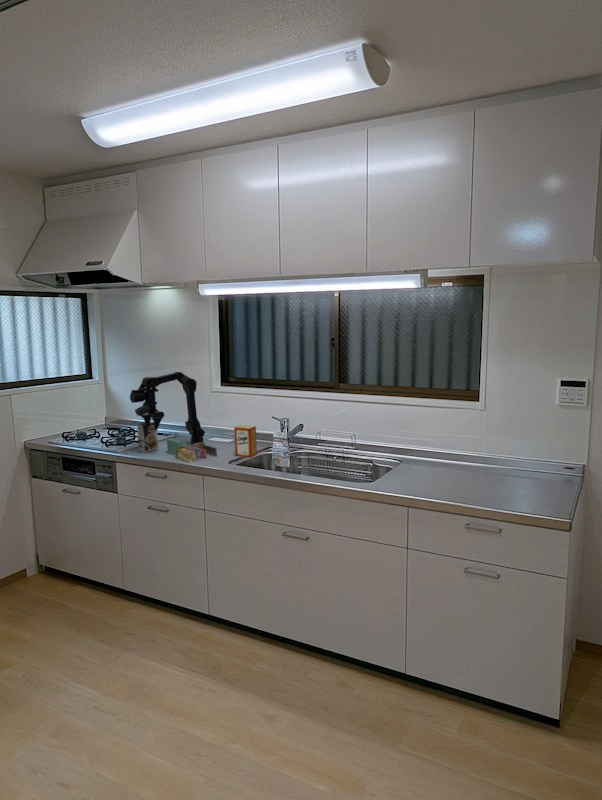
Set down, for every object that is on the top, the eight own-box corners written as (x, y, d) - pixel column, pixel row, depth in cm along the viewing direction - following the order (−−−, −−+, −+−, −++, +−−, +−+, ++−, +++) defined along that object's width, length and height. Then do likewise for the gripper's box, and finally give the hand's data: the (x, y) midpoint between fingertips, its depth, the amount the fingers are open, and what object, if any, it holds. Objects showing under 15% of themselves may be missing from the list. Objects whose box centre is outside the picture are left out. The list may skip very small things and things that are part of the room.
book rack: (203, 452, 310) (203, 441, 309) (216, 456, 301) (216, 445, 300) (176, 458, 299) (176, 447, 298) (189, 462, 290) (188, 451, 289)
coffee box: (145, 453, 311) (143, 425, 309) (138, 451, 315) (136, 423, 313) (159, 449, 318) (157, 422, 316) (151, 448, 322) (149, 421, 320)
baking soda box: (256, 454, 303) (255, 425, 300) (251, 457, 297) (249, 428, 294) (241, 453, 306) (240, 424, 304) (235, 456, 300) (234, 426, 298)
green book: (173, 452, 312) (172, 438, 311) (183, 455, 304) (182, 441, 303) (167, 453, 310) (166, 439, 309) (178, 457, 302) (177, 442, 301)
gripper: (128, 400, 304) (130, 428, 307) (144, 404, 291) (146, 433, 293) (147, 398, 312) (148, 425, 314) (163, 401, 298) (165, 430, 301)
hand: (152, 428), depth 306 cm, fingers open, 9 cm apart
